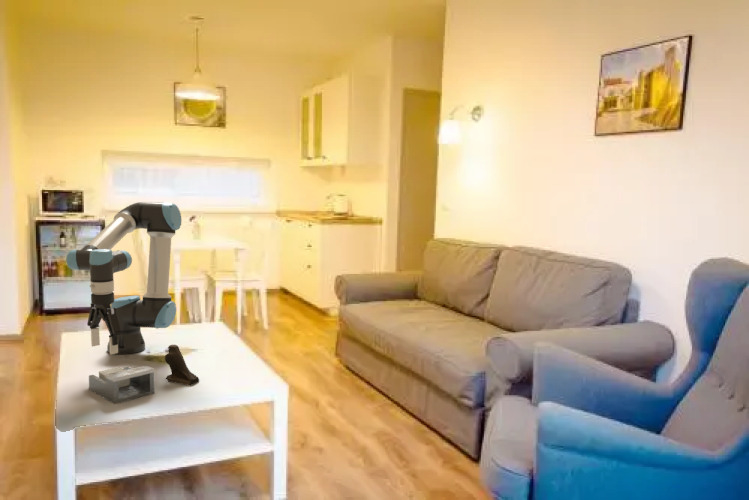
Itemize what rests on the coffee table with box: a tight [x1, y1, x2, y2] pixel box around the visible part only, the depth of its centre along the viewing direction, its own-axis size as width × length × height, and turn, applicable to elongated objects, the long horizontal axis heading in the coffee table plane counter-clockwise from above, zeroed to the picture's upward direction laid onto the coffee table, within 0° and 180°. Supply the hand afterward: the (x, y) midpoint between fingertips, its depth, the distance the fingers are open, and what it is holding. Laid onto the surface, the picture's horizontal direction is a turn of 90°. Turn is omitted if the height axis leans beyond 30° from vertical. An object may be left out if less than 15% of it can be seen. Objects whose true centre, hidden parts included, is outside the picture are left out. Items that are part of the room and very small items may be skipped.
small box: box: [98, 366, 130, 388], centre depth 205 cm, size 8×8×5 cm
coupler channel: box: [88, 365, 155, 405], centre depth 202 cm, size 19×14×9 cm
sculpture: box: [164, 344, 200, 386], centre depth 214 cm, size 6×13×13 cm, turn 68°
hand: (104, 349), depth 211 cm, fingers open, 13 cm apart
